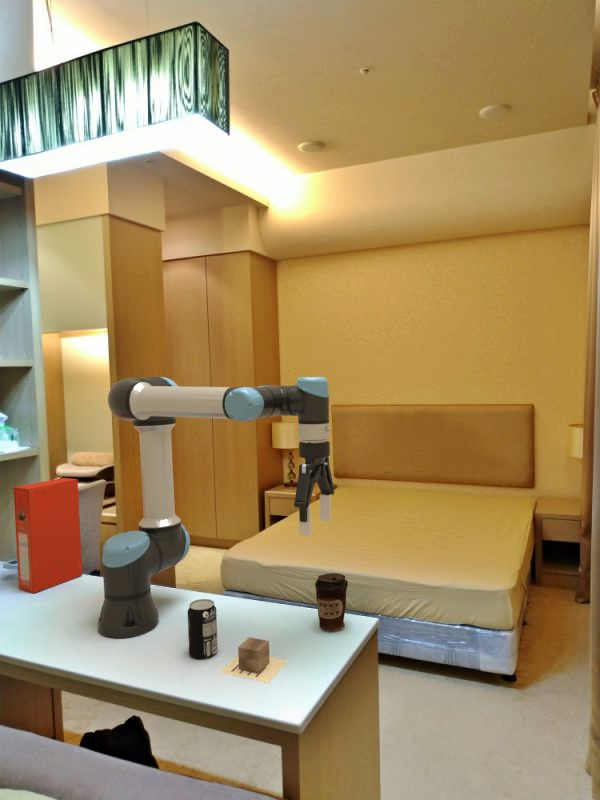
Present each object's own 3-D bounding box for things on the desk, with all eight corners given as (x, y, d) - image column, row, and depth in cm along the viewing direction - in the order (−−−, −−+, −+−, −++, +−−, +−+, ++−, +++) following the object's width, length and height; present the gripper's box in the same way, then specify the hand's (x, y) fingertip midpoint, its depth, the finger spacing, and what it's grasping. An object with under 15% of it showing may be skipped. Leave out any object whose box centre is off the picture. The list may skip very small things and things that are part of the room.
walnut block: (238, 669, 125) (238, 647, 125) (249, 658, 130) (249, 637, 130) (259, 673, 123) (258, 651, 123) (269, 662, 128) (268, 641, 128)
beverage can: (190, 648, 136) (189, 599, 136) (218, 646, 137) (216, 597, 136) (187, 662, 130) (185, 610, 129) (216, 660, 130) (215, 608, 130)
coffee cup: (346, 636, 141) (345, 584, 140) (313, 633, 142) (312, 582, 142) (350, 620, 149) (349, 571, 148) (319, 618, 151) (317, 570, 150)
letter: (219, 673, 124) (219, 672, 124) (241, 652, 134) (241, 651, 133) (268, 684, 120) (268, 682, 119) (288, 661, 129) (288, 660, 129)
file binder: (18, 589, 177) (13, 487, 176) (66, 572, 192) (62, 477, 190) (34, 594, 173) (29, 489, 171) (82, 576, 188) (78, 479, 186)
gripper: (309, 447, 125) (311, 543, 126) (345, 435, 148) (346, 516, 149) (278, 446, 128) (280, 540, 129) (318, 434, 151) (319, 514, 152)
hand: (315, 527), depth 139 cm, fingers open, 13 cm apart
